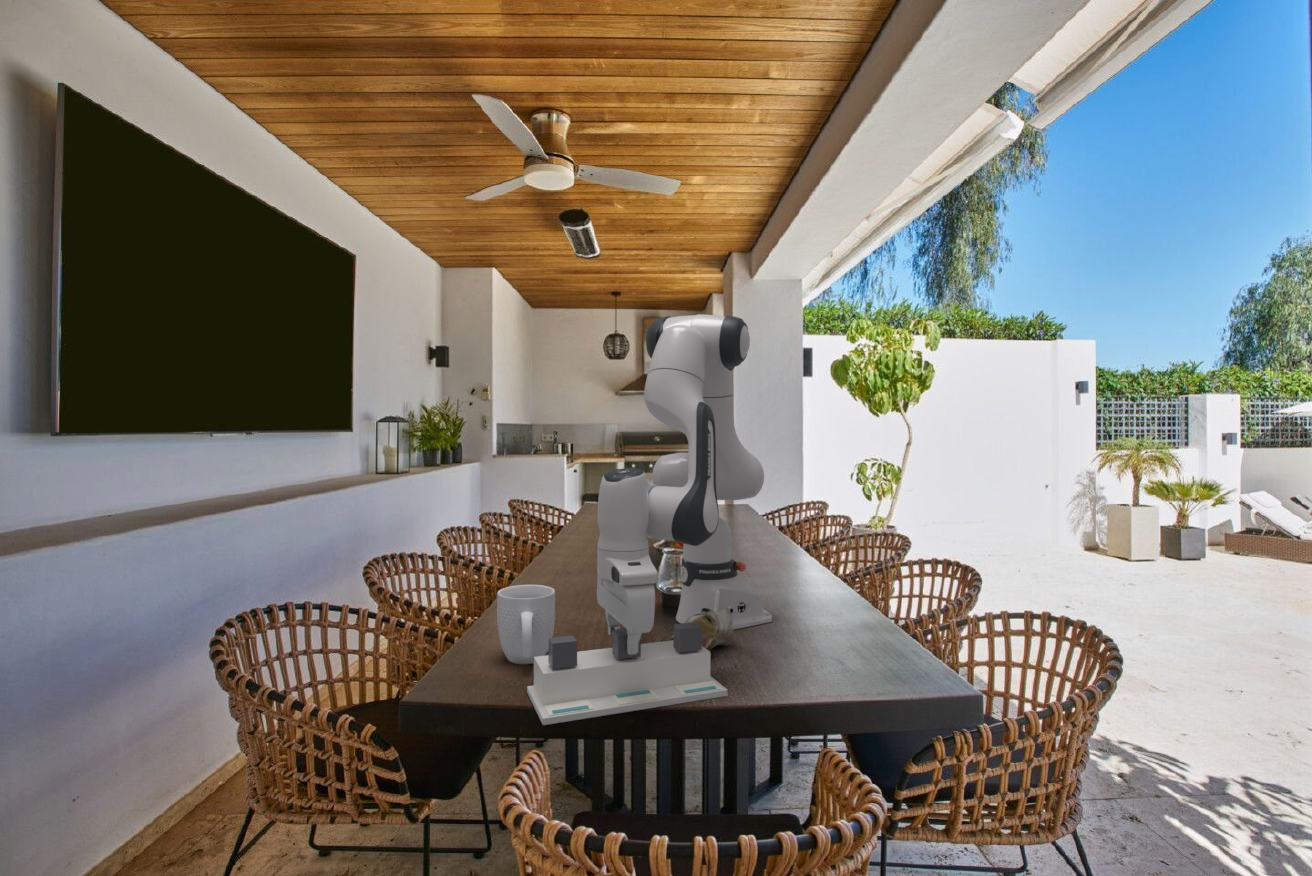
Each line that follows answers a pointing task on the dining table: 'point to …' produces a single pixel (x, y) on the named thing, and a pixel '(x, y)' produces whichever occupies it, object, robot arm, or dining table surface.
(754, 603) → the robot arm
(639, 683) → the switch unit
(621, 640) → the slider middle
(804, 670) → the dining table surface
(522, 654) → the mug
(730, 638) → the ceramic sculpture
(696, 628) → the slider
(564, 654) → the slider
